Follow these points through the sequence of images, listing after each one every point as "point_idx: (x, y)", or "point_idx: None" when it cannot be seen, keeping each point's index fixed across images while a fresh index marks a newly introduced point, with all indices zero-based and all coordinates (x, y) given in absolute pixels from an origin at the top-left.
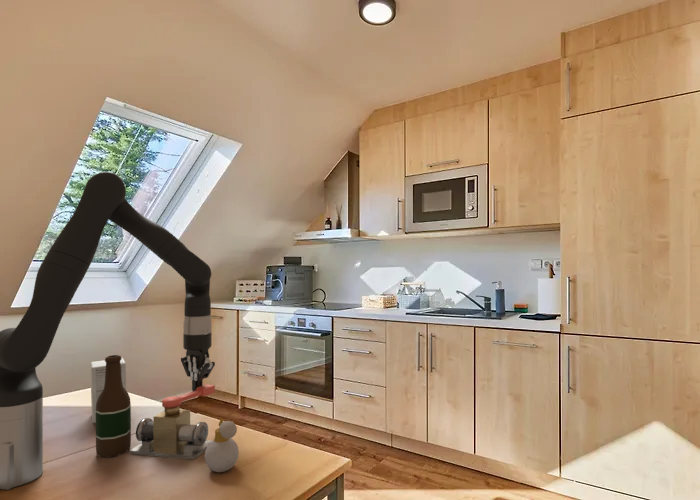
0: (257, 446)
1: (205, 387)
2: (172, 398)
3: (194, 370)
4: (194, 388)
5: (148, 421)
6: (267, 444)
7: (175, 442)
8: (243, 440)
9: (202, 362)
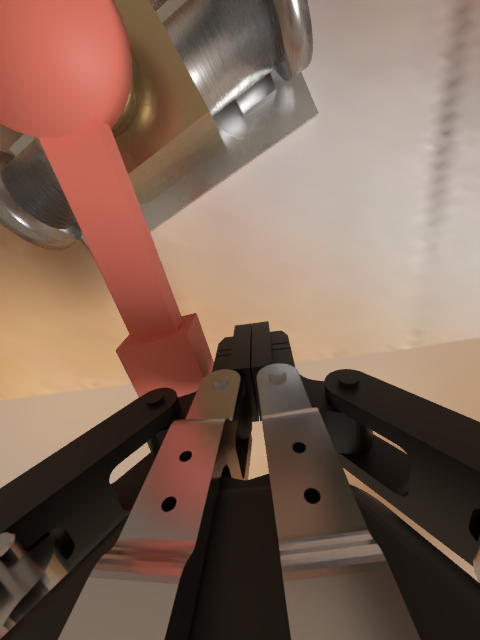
0: (14, 338)
1: (147, 376)
2: (37, 44)
3: (191, 433)
4: (244, 337)
5: (274, 4)
6: (12, 361)
7: None
8: (79, 335)
9: (29, 611)
